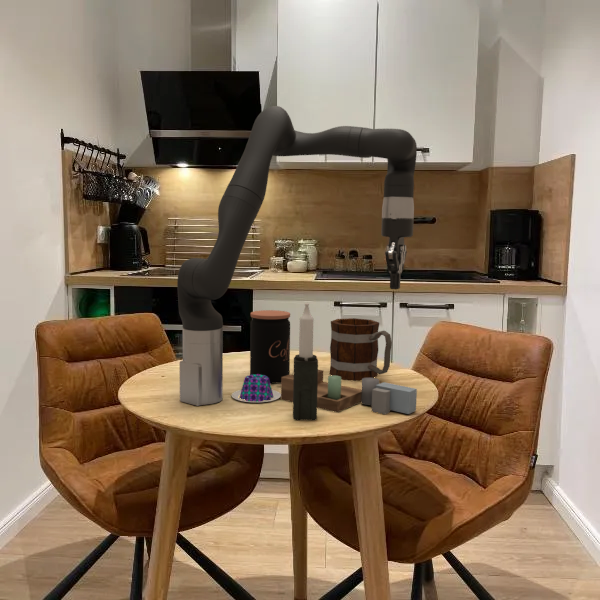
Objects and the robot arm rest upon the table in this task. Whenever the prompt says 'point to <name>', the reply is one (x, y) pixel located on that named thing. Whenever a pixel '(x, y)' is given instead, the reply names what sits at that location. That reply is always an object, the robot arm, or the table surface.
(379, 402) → the block
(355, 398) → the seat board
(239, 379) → the table surface
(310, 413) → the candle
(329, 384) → the dowel leg
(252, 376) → the pudding
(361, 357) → the mug
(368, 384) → the hinged leg
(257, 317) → the coffee jar
